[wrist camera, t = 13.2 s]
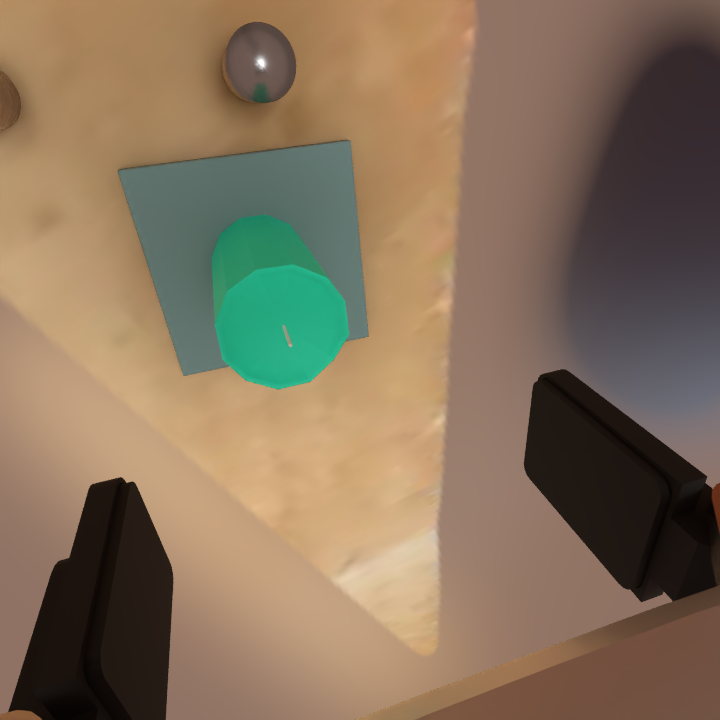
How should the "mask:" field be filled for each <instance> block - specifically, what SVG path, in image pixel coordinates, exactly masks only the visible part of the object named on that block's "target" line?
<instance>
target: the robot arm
mask: <svg viewBox="0 0 720 720" xmlns="http://www.w3.org/2000/svg"><path fill="white" fill-rule="evenodd" d="M524 468H525V471H526V474H527V476H528V477H529V479H530V480H531V481H532V482H533V483H534V484H535V486H536V487H537V488H538V489H539V490H540V491H541V493H542V494H543V495H544V496H545V497H546V498H547V500H548V501H549V502H550V503H551V504H552V506H553V507H554V508H555V509H556V510H557V511H558V513H559V514H560V515H561V516H562V517H563V519H564V520H565V521H566V522H567V523H568V524H569V525H570V527H571V528H572V529H573V530H574V531H575V533H576V534H577V535H578V536H579V537H580V538H581V540H583V542H584V543H585V544H586V546H587V547H588V548H589V549H590V550H591V551H592V552H593V554H594V555H595V556H596V557H597V558H598V559H599V561H600V562H601V563H602V564H603V565H604V567H605V568H606V569H607V570H608V571H609V573H610V574H611V575H612V576H613V577H614V578H615V580H616V581H617V582H618V583H619V584H620V585H621V586H622V587H623V588H625V589H630V590H631V591H632V592H633V593H634V594H635V595H636V597H637V598H638V599H639V600H640V601H641V602H643V601H646V600H649V599H651V598H654V597H657V596H660V595H662V594H663V592H665V593H666V594H667V595H668V596H669V597H670V598H671V599H672V602H671V603H667V604H664V605H662V606H659V607H656V608H653V609H651V610H648V611H645V612H642V613H640V614H637V615H634V616H632V617H629V618H626V619H623V620H621V621H618V622H615V623H612V624H610V625H607V626H604V627H602V628H599V629H596V630H593V631H591V632H588V633H585V634H583V635H580V636H577V637H574V638H572V639H569V640H566V641H563V642H561V643H558V644H555V645H553V646H550V647H547V648H545V649H542V650H539V651H536V652H534V653H531V654H528V655H526V656H523V657H520V658H518V659H515V660H512V661H510V662H507V663H505V664H502V665H499V666H496V667H494V668H491V669H488V670H486V671H483V672H480V673H478V674H475V675H472V676H470V677H467V678H464V679H462V680H459V681H456V682H454V683H451V684H448V685H446V686H443V687H441V688H438V689H435V690H433V691H430V692H427V693H425V694H422V695H419V696H417V697H414V698H411V699H409V700H406V701H403V702H400V703H398V704H395V705H393V706H390V707H388V708H385V709H382V710H379V711H377V712H374V713H372V714H369V715H367V716H364V717H361V718H358V719H356V720H720V483H718V484H716V485H715V487H714V488H713V489H712V488H711V487H710V486H708V485H707V484H706V483H705V482H706V479H707V476H706V475H705V474H703V473H702V472H701V471H699V470H698V469H696V468H695V467H694V466H693V465H691V464H690V463H689V462H687V461H686V460H685V459H683V458H682V457H681V456H679V455H678V454H677V453H676V452H674V451H673V450H672V449H670V448H669V447H668V446H666V445H665V444H664V443H662V442H661V441H660V440H658V439H657V438H655V437H654V436H653V435H652V434H650V433H649V432H648V431H647V430H645V429H644V428H643V427H641V426H640V425H639V424H637V423H636V422H635V421H633V420H632V419H631V418H629V417H628V416H627V415H625V414H624V413H623V412H622V411H620V410H619V409H618V408H616V407H615V406H614V405H612V404H611V403H610V402H608V401H607V400H605V399H604V398H603V397H602V396H600V395H599V394H598V393H596V392H595V391H594V390H593V389H591V388H590V387H589V386H587V385H586V384H585V383H583V382H582V381H580V380H579V379H578V378H577V377H575V376H574V375H573V374H571V373H570V372H569V371H567V370H563V369H562V370H557V371H553V372H549V373H545V374H542V375H540V377H539V378H538V381H537V382H535V383H534V385H533V391H532V399H531V408H530V417H529V426H528V433H527V442H526V451H525V458H524ZM172 595H173V572H172V567H171V564H170V561H169V559H168V557H167V554H166V552H165V550H164V548H163V545H162V543H161V541H160V538H159V536H158V534H157V531H156V529H155V527H154V525H153V522H152V520H151V518H150V515H149V513H148V511H147V509H146V506H145V504H144V502H143V499H142V497H141V495H140V492H139V491H138V488H137V486H136V484H135V483H134V482H129V483H126V482H125V480H124V479H123V478H121V477H120V478H115V479H111V480H108V481H103V482H99V483H96V484H92V485H91V486H90V488H89V490H88V494H87V497H86V501H85V504H84V508H83V511H82V515H81V519H80V522H79V526H78V530H77V533H76V536H75V540H74V543H73V547H72V550H71V554H70V558H68V559H64V560H61V561H59V562H57V564H56V565H55V566H54V568H53V571H52V573H51V576H50V579H49V583H48V586H47V589H46V592H45V596H44V599H43V602H42V605H41V608H40V612H39V615H38V618H37V621H36V624H35V628H34V631H33V634H32V637H31V640H30V644H29V647H28V650H27V653H26V657H25V660H24V663H23V666H22V669H21V673H20V676H19V679H18V682H17V686H16V689H15V692H14V695H13V698H12V702H11V705H10V708H9V711H8V712H7V713H3V714H1V715H0V720H166V704H167V684H168V668H169V650H170V632H171V613H172Z"/></svg>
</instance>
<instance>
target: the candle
mask: <svg viewBox="0 0 720 720" xmlns="http://www.w3.org/2000/svg"><path fill="white" fill-rule="evenodd" d="M211 260H212V280H213V299H214V319H215V328H216V333H217V337H218V342H219V346H220V351H221V355H222V360H223V361H224V362H226V363H227V364H228V365H229V366H230V367H231V368H232V369H233V370H235V371H236V372H237V373H238V374H239V375H240V376H241V377H242V378H244V379H245V380H246V381H249V382H253V383H257V384H260V385H264V386H267V387H271V388H275V389H282V388H286V387H290V386H295V385H299V384H303V383H307V382H310V381H311V380H313V379H314V378H315V377H316V376H317V375H318V374H319V373H320V372H321V371H322V370H323V369H324V368H325V367H326V366H327V365H328V364H330V363H331V362H332V361H333V360H334V359H335V357H336V355H337V354H338V352H339V350H340V349H341V347H342V345H343V344H344V342H345V340H346V339H347V337H348V335H349V328H348V320H347V312H346V304H345V300H344V299H343V297H342V296H341V294H340V293H339V292H338V290H337V289H336V287H335V286H334V284H333V283H332V282H331V280H330V279H329V277H328V276H327V275H326V273H325V272H324V270H323V269H322V267H321V266H320V265H319V263H318V262H317V260H316V259H315V258H314V256H313V255H312V253H311V252H310V250H309V249H308V248H307V246H306V245H305V243H304V242H303V241H302V239H301V238H300V237H299V236H298V234H297V233H296V232H295V230H294V229H293V228H292V226H291V225H290V224H288V223H285V222H283V221H280V220H278V219H276V218H273V217H271V216H269V215H258V216H251V217H243V218H239V219H238V220H237V221H236V222H234V223H233V224H232V225H230V226H229V227H228V228H227V229H225V230H224V231H223V232H222V233H220V235H219V238H218V240H217V243H216V246H215V249H214V252H213V255H212V258H211Z"/></svg>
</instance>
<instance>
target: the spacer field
mask: <svg viewBox="0 0 720 720" xmlns="http://www.w3.org/2000/svg"><path fill="white" fill-rule="evenodd" d="M295 73H296V60H295V55H294V52H293V49H292V47H291V45H290V43H289V41H288V40H287V38H286V37H285V36H284V35H283V34H282V32H280V31H279V30H278V29H277V28H275V27H273V26H271V25H269V24H266V23H262V22H253V23H248V24H246V25H244V26H242V27H240V28H239V29H238V30H237V31H236V32H235V33H234V34H233V36H232V37H231V39H230V41H229V44H228V46H227V48H226V50H225V53H224V55H223V59H222V74H223V77H224V80H225V83H226V84H227V86H228V88H229V89H230V90H231V92H232V93H233V94H234V95H236V96H237V97H238V98H240V99H242V100H244V101H248V102H260V103H268V102H273V101H276V100H278V99H280V98H281V97H283V96H284V95H285V94H286V93H287V92H288V91H289V89H290V88H291V86H292V84H293V81H294V78H295ZM20 107H21V106H20V98H19V95H18V92H17V90H16V88H15V86H14V85H13V83H12V82H11V80H10V79H9V78H8V77H7V76H6V75H5V74H4V73H3V72H1V71H0V130H2V129H5V128H8V127H10V126H11V125H12V124H13V123H14V122H15V121H16V120H17V118H18V116H19V113H20Z"/></svg>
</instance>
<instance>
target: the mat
mask: <svg viewBox="0 0 720 720" xmlns="http://www.w3.org/2000/svg"><path fill="white" fill-rule="evenodd" d="M118 174H119V177H120V180H121V183H122V186H123V189H124V192H125V195H126V198H127V202H128V205H129V208H130V211H131V214H132V217H133V220H134V223H135V226H136V230H137V233H138V236H139V239H140V242H141V245H142V248H143V251H144V254H145V257H146V261H147V264H148V267H149V270H150V273H151V276H152V279H153V282H154V285H155V289H156V292H157V295H158V298H159V301H160V304H161V307H162V310H163V313H164V316H165V320H166V323H167V326H168V329H169V332H170V335H171V338H172V341H173V344H174V348H175V351H176V354H177V357H178V360H179V363H180V366H181V369H182V372H183V375H184V376H187V375H191V374H196V373H201V372H205V371H210V370H215V369H219V368H224V367H229V365H228V364H227V363H226V362H224V361H223V360H222V355H221V351H220V346H219V342H218V337H217V333H216V328H215V319H214V299H213V280H212V260H211V258H212V255H213V252H214V249H215V246H216V243H217V240H218V238H219V235H220V233H222V232H223V231H224V230H225V229H227V228H228V227H229V226H230V225H232V224H233V223H234V222H236V221H237V220H238V219H239V218H243V217H251V216H258V215H269V216H271V217H273V218H276V219H278V220H280V221H283V222H285V223H288V224H290V225H291V226H292V228H293V229H294V230H295V232H296V233H297V234H298V236H299V237H300V238H301V239H302V241H303V242H304V243H305V245H306V246H307V248H308V249H309V250H310V252H311V253H312V255H313V256H314V258H315V259H316V260H317V262H318V263H319V265H320V266H321V267H322V269H323V270H324V272H325V273H326V275H327V276H328V277H329V279H330V280H331V282H332V283H333V284H334V286H335V287H336V289H337V290H338V292H339V293H340V294H341V296H342V297H343V299H344V300H345V304H346V312H347V320H348V328H349V335H348V337H347V339H346V340H345V341H350V340H355V339H360V338H364V337H369V335H368V324H367V314H366V303H365V292H364V281H363V271H362V260H361V249H360V238H359V228H358V217H357V206H356V195H355V185H354V174H353V163H352V152H351V142H350V140H342V141H334V142H326V143H318V144H311V145H303V146H295V147H287V148H280V149H272V150H264V151H256V152H249V153H241V154H233V155H225V156H218V157H210V158H202V159H194V160H187V161H179V162H171V163H163V164H156V165H148V166H140V167H132V168H125V169H119V170H118Z"/></svg>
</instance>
